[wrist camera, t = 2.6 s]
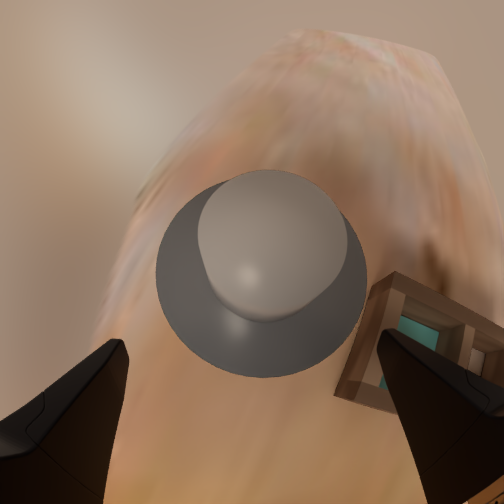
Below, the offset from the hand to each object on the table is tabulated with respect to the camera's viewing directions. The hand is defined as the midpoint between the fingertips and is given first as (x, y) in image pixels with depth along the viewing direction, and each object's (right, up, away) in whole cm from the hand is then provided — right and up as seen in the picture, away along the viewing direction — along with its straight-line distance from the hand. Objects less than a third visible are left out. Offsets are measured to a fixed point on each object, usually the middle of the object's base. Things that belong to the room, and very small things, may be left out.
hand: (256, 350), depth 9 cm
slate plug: (-1, -2, +9) cm, 9 cm away
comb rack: (+14, -6, +8) cm, 17 cm away
